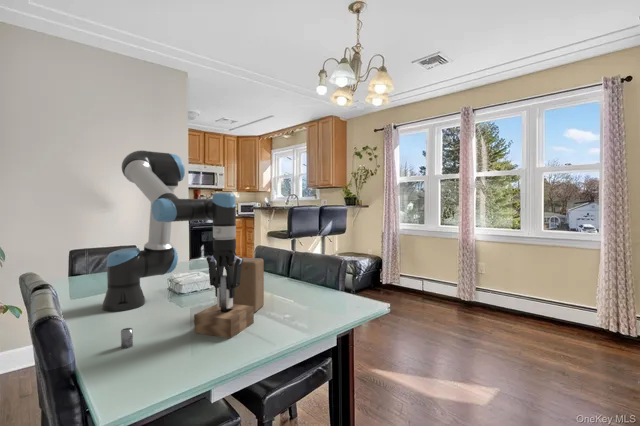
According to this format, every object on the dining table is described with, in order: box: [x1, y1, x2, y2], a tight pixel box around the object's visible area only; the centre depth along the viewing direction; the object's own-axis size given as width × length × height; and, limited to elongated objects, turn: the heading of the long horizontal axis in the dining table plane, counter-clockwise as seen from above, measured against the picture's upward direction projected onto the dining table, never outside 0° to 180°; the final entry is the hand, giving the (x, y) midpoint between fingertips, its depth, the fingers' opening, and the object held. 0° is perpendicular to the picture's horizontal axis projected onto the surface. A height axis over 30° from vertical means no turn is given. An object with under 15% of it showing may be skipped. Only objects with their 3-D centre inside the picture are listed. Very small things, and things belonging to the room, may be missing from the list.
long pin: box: [220, 274, 230, 313], centre depth 112 cm, size 3×3×14 cm
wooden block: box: [233, 257, 265, 313], centre depth 133 cm, size 10×10×20 cm
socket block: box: [193, 303, 255, 339], centre depth 113 cm, size 14×14×6 cm
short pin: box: [120, 327, 134, 350], centre depth 98 cm, size 3×3×5 cm
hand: (225, 306), depth 112 cm, fingers closed on long pin, 3 cm apart
